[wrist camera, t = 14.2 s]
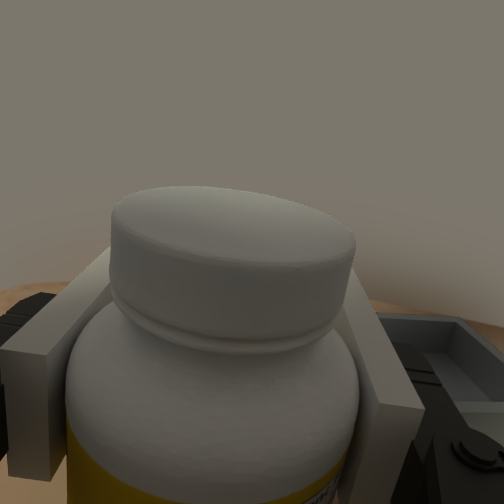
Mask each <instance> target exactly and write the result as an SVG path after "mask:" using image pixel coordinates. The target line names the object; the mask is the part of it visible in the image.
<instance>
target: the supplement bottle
mask: <svg viewBox="0 0 504 504" xmlns="http://www.w3.org/2000/svg"><path fill="white" fill-rule="evenodd" d="M355 243H356V242H355V238H354V235H353V234H352V232H351V231H350V230H349V229H348V228H347V227H346V226H345V225H343V224H342V223H341V222H339V221H338V220H336V219H335V218H333V217H331V216H329V215H328V214H326V213H323V212H321V211H318V210H316V209H313V208H311V207H308V206H305V205H302V204H299V203H296V202H293V201H290V200H285V199H282V198H278V197H274V196H271V195H266V194H261V193H255V192H249V191H242V190H236V189H227V188H219V187H203V186H174V187H161V188H155V189H148V190H142V191H139V192H135V193H132V194H130V195H127V196H125V197H124V198H122V199H121V200H119V201H118V202H117V204H116V205H115V207H114V209H113V212H112V218H111V250H110V263H109V279H110V282H111V295H112V298H113V300H114V301H112V302H111V303H110V304H108V305H107V306H105V307H104V308H103V309H101V310H100V311H99V312H98V313H97V314H96V315H95V316H94V317H93V318H92V319H91V320H90V321H89V322H88V324H87V325H86V326H85V327H84V329H83V330H82V332H81V333H80V335H79V336H78V338H77V340H76V343H75V344H74V346H73V349H72V351H71V355H70V358H69V362H68V366H67V372H66V386H65V440H66V456H67V504H332V503H333V500H334V496H335V493H336V489H337V485H338V482H339V479H340V476H341V473H342V470H343V467H344V463H345V459H346V456H347V453H348V449H349V446H350V443H351V440H352V436H353V433H354V427H355V422H356V418H357V413H358V406H359V398H360V391H359V380H358V374H357V370H356V367H355V363H354V360H353V358H352V356H351V354H350V352H349V349H348V348H347V346H346V344H345V343H344V341H343V340H342V338H341V337H340V336H339V334H338V333H337V332H336V331H335V329H334V326H335V325H336V323H337V322H338V320H339V316H340V309H341V307H342V305H343V303H344V298H345V294H346V289H347V285H348V281H349V276H350V271H351V267H352V262H353V258H354V253H355V247H356V244H355Z"/></svg>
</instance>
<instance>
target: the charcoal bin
mask: <svg viewBox="0 0 504 504" xmlns="http://www.w3.org/2000/svg"><path fill="white" fill-rule="evenodd" d="M375 313H376V314H377V316H378V318H379V320H380V322H381V324H382V326H383V328H384V330H385V332H386V334H387V336H388V338H389V340H390V341H391V342H398V343H405V344H410V345H411V346H413V347H414V348H415V349H416V350H417V351H419V352H420V353H421V354H422V355H423V356H424V357H426V359H427V360H428V362H429V364H430V365H431V367H432V368H433V370H434V372H435V375H437V376H438V378H439V380H440V381H441V383H442V387H444V388H445V389H446V391H447V393H448V394H449V396H450V397H451V399H452V401H453V402H454V404H455V405H456V407H457V409H458V410H459V412H460V414H461V415H462V417H463V418H464V420H465V422H466V423H467V425H468V426H469V427H470V428H472V429H474V430H477V431H479V432H481V433H484V434H486V435H487V436H489V437H490V438H492V439H493V440H495V441H496V442H498V443H499V444H501V445H502V446H503V447H504V354H503V353H502V352H500V351H499V350H498V349H497V348H496V347H494V346H493V345H492V344H491V343H490V342H489V341H487V340H486V339H485V338H484V337H483V336H481V335H480V334H479V333H478V332H477V331H476V330H474V329H473V328H472V327H471V326H470V325H468V324H467V323H466V322H465V321H464V320H462V319H461V318H460V317H450V316H432V315H415V314H397V313H379V312H375Z"/></svg>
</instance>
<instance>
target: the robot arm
mask: <svg viewBox="0 0 504 504" xmlns="http://www.w3.org/2000/svg"><path fill="white" fill-rule="evenodd" d="M110 250H111V245H110V246H109V248H107V249H106V250H105V251H104V252H103V253H102V254H101V255H100V256H99V257H98V258H96V259H95V260H94V261H93V262H92V263H91V264H90V265H89V266H88V267H87V268H86V269H84V270H83V271H82V272H81V273H80V274H79V275H78V276H77V277H76V278H75V279H74V280H73V281H71V282H70V283H69V284H68V285H67V286H66V287H65V288H64V289H63V290H62V291H61V292H60V293H58V294H51V293H44V292H40V293H37V294H35V295H33V296H30V297H28V298H25V299H23V300H20V301H19V302H18V303H17V304H15V305H14V306H13V307H12V308H11V309H9V310H8V311H7V312H6V315H5V314H3V315H2V316H1V317H0V461H1V460H2V458H3V457H4V456H5V454H6V453H7V463H8V476H11V477H18V478H26V479H33V480H40V481H48V482H50V481H51V479H52V478H53V476H54V474H55V472H56V471H57V469H58V467H59V465H60V464H61V462H62V460H63V458H64V457H65V455H66V440H65V386H66V372H67V366H68V362H69V358H70V355H71V351H72V349H73V346H74V344H75V343H76V340H77V338H78V336H79V335H80V333H81V332H82V330H83V329H84V327H85V326H86V325H87V324H88V322H89V321H90V320H91V319H92V318H93V317H94V316H95V315H96V314H97V313H98V312H99V311H100V310H101V309H103V308H104V307H105V306H107V305H108V304H110V303H111V302H112V301H114V300H113V298H112V295H111V282H110V279H109V263H110ZM334 329H335V331H336V332H337V333H338V334H339V336H340V337H341V338H342V340H343V341H344V343H345V344H346V346H347V348H348V349H349V352H350V354H351V356H352V358H353V360H354V363H355V367H356V370H357V374H358V380H359V391H360V398H359V406H358V413H357V418H356V422H355V427H354V433H353V436H352V440H351V443H350V446H349V449H348V453H347V456H346V459H345V463H344V467H343V470H342V473H341V476H340V479H339V482H338V485H337V494H338V500H339V504H504V447H503V446H502V445H501V444H499V443H498V442H496V441H495V440H493V439H492V438H490V437H489V436H487V435H486V434H484V433H481V432H479V431H477V430H474V429H472V428H470V427H469V426H468V425H467V423H466V422H465V420H464V418H463V417H462V415H461V414H460V412H459V410H458V409H457V407H456V405H455V404H454V402H453V401H452V399H451V397H450V396H449V394H448V393H447V391H446V389H445V388H444V387H442V383H441V381H440V380H439V378H438V376H437V375H435V372H434V370H433V368H432V367H431V365H430V364H429V362H428V360H427V359H426V357H424V356H423V355H422V354H421V353H420V352H419V351H417V350H416V349H415V348H414V347H413V346H411V345H410V344H405V343H398V342H391V341H390V340H389V338H388V336H387V334H386V332H385V330H384V328H383V326H382V324H381V322H380V320H379V318H378V316H377V314H376V313H375V311H374V309H373V307H372V305H371V303H370V301H369V299H368V297H367V295H366V293H365V291H364V289H363V287H362V285H361V284H360V281H359V280H358V278H357V276H356V274H355V272H354V270H353V268H352V267H351V271H350V276H349V281H348V285H347V289H346V294H345V298H344V303H343V305H342V307H341V309H340V316H339V320H338V322H337V323H336V325H335V326H334Z"/></svg>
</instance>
